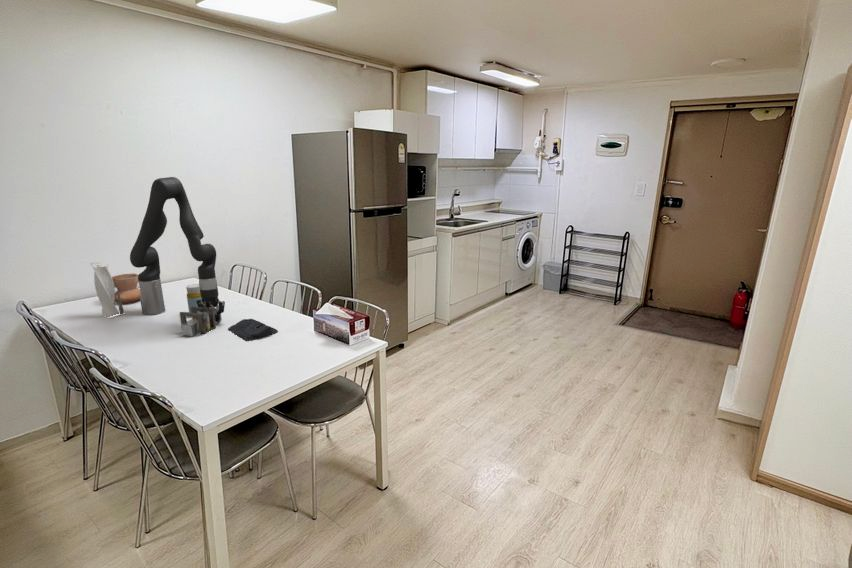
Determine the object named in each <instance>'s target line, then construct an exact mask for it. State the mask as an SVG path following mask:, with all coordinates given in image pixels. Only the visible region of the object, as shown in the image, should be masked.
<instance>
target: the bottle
mask: <svg viewBox="0 0 852 568" xmlns="http://www.w3.org/2000/svg"><path fill="white" fill-rule="evenodd" d="M199 299H202V298H201V295H200V287H199V283H194V284H193V283H192V284H188V285H186V301H187V306H188V307H187V308H188V312H190V313H191V307H198V305H197V302H196V301H197V300H199ZM201 308H202V307H201ZM197 313H200V314H204V313H203V312H200V311H197Z"/></svg>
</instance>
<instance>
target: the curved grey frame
mask: <svg viewBox="0 0 852 568" xmlns="http://www.w3.org/2000/svg"><path fill="white" fill-rule="evenodd" d="M197 311H201V312H208V313H209V321H210V323H205V324H204V317H203V314H200V313H197ZM179 317H180V325H181V324H183V323H185V322H187V321H188V320H187V317H188V318H189V317H190V318H191V319H193V318H195V317H198V323H199V330H200V332H199V335H202V334H204V335H206V334H208V333H210V332H212V331H213V330H216V329H217V325H216V324H217V323H215V316H214V309H212V308H201V307H191V313H190V312H189V311H187V312H186V311H180V312H179ZM211 330H212V331H211ZM209 331H210V332H209ZM207 332H208V333H207Z"/></svg>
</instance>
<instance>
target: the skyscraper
mask: <svg viewBox="0 0 852 568" xmlns="http://www.w3.org/2000/svg"><path fill="white" fill-rule="evenodd" d="M89 264H90V266H91V267H92V269H93V273H94V274H93V275H94V276H93V277H94V278H93V279H94V280H93V281H94V288H95V292H96V295H97V298H98V301H99V302H100V305H101V307H102V308H101V316H106V317H105V318H107V317H110V316H113V315H116V314H119V312H120V314H123V313H125V311H124V306H123V303H122V301H121V298H120V295H119V293H118V302H117V303H118V308H117V307H116V304H115V301H114V300H115V293H116V292H118V289H117V290H116V289H115V287H114V282H113V279H112V277H113V276H112V274H111V272H110V271H109V269H108V268H109V263H107V262H98V261H97V262H96V261H94V262H90V263H89ZM93 264H94V265H93ZM118 310H119V311H118ZM123 315H124V314H123Z"/></svg>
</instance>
